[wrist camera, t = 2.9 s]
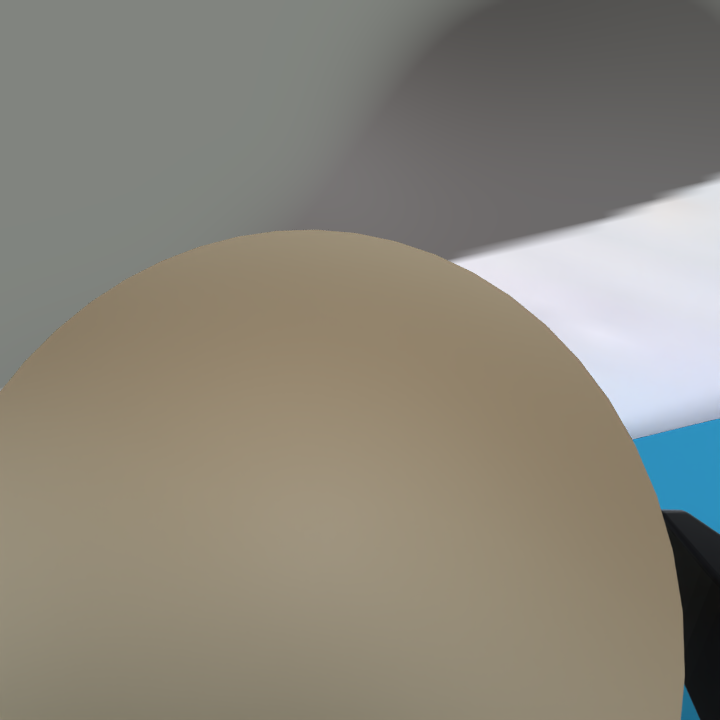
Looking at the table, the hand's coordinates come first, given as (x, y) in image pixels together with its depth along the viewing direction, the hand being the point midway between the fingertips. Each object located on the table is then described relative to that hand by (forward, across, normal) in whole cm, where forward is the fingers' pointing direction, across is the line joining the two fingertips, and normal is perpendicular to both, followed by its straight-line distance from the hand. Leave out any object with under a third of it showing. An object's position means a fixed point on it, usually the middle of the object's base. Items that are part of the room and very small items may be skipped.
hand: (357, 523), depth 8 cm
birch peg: (+5, 0, +5) cm, 7 cm away
